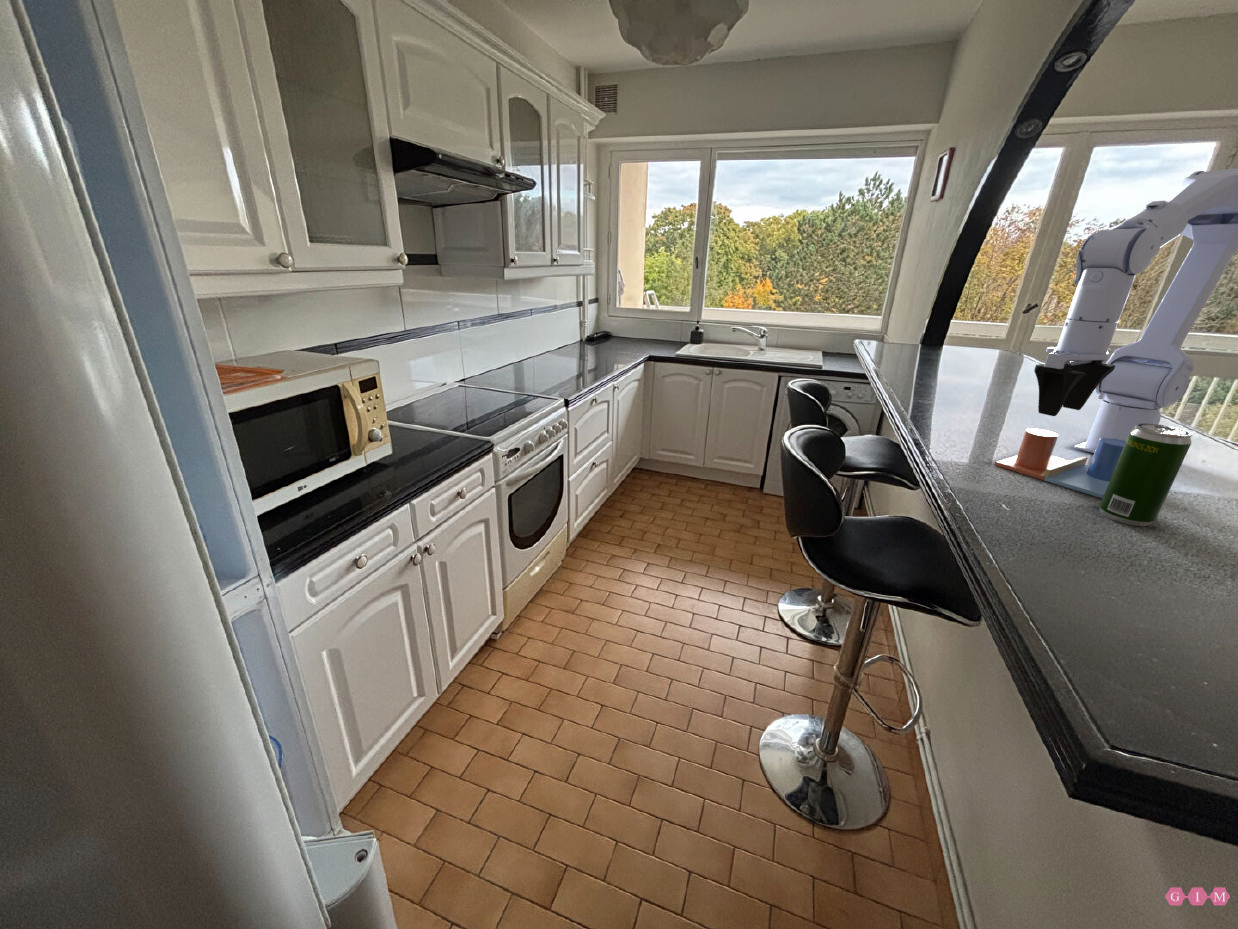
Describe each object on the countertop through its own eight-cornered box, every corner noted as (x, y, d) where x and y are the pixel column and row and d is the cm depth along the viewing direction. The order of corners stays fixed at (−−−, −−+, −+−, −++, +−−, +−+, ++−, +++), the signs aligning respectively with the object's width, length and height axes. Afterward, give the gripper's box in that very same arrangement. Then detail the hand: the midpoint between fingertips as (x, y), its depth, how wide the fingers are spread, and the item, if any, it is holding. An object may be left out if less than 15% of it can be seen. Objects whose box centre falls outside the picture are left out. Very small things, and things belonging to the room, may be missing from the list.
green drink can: (1146, 531, 62) (1189, 439, 57) (1090, 514, 66) (1126, 426, 62) (1159, 520, 65) (1200, 431, 60) (1104, 504, 69) (1139, 420, 64)
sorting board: (1032, 453, 87) (1035, 443, 87) (1138, 483, 76) (1142, 472, 75) (994, 464, 82) (997, 454, 81) (1101, 498, 71) (1106, 486, 70)
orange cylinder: (1023, 459, 83) (1033, 427, 81) (1051, 467, 80) (1063, 434, 78) (1010, 463, 81) (1020, 430, 79) (1038, 471, 78) (1050, 438, 76)
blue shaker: (1093, 469, 79) (1106, 436, 77) (1126, 478, 76) (1141, 444, 74) (1081, 474, 77) (1094, 440, 75) (1114, 483, 74) (1129, 448, 72)
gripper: (1081, 315, 79) (1052, 400, 84) (1034, 319, 73) (1005, 410, 78) (1140, 320, 73) (1105, 410, 79) (1094, 324, 67) (1059, 422, 72)
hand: (1059, 411), depth 78 cm, fingers open, 7 cm apart
